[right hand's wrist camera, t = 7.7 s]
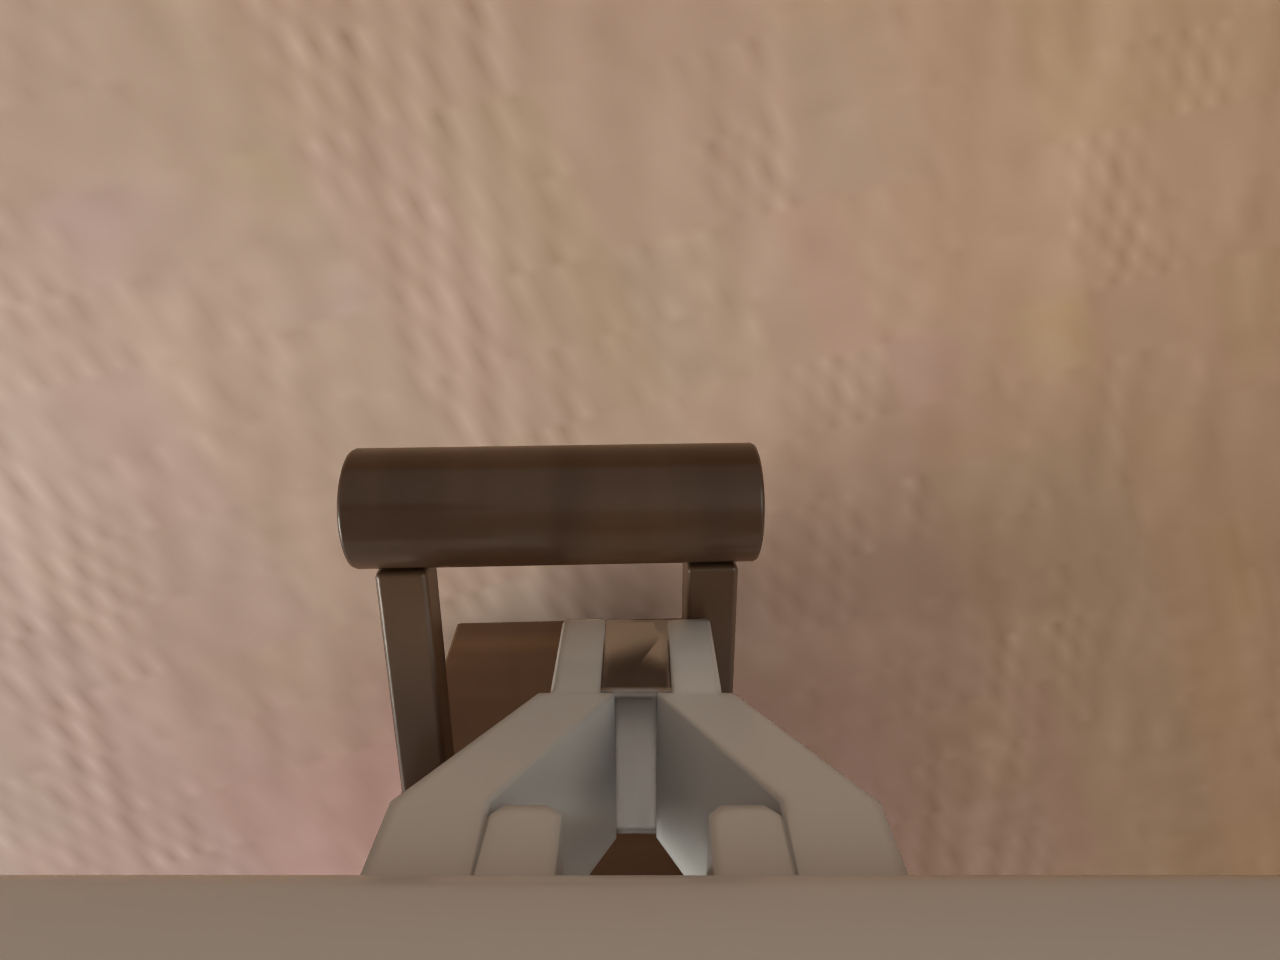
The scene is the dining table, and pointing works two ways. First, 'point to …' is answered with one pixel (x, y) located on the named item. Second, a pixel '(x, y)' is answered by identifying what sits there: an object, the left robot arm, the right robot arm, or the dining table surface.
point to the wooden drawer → (535, 535)
